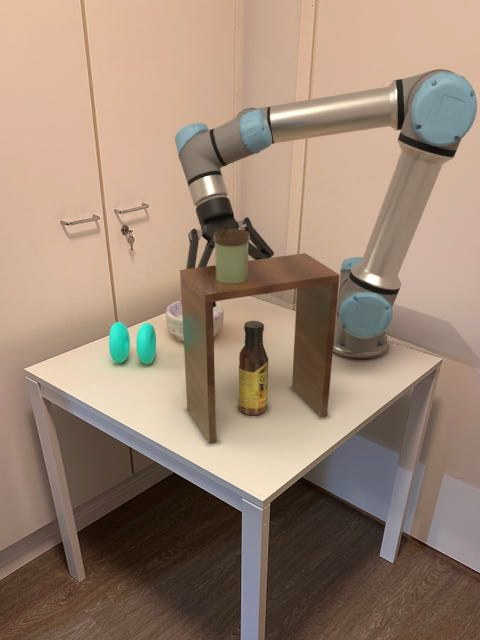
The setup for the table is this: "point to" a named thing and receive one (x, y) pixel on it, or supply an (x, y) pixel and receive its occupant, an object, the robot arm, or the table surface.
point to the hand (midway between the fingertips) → (241, 300)
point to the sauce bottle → (253, 370)
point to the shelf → (263, 277)
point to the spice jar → (231, 255)
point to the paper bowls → (176, 319)
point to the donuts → (121, 343)
